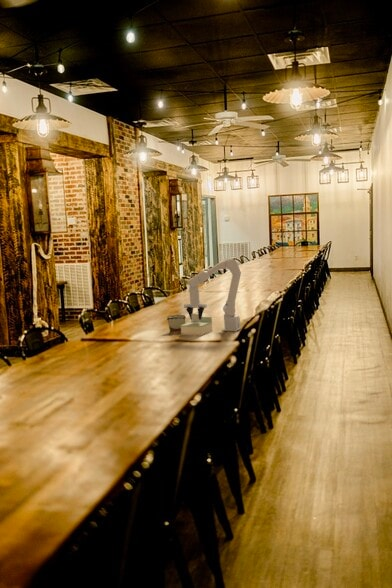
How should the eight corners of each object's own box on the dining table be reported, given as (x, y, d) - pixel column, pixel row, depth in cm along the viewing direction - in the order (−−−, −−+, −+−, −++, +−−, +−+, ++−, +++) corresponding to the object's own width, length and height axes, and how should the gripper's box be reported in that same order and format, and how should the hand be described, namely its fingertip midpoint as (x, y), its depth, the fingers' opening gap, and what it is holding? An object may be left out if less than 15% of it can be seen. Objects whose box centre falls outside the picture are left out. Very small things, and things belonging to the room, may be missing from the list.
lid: (211, 322, 343) (211, 316, 342) (200, 327, 331) (200, 321, 330) (192, 322, 350) (191, 316, 349) (180, 326, 338) (180, 320, 337)
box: (212, 330, 343) (211, 322, 343) (201, 335, 331) (200, 327, 331) (192, 330, 350) (192, 322, 350) (181, 334, 338) (180, 326, 338)
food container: (188, 329, 352) (187, 314, 351) (187, 331, 346) (186, 316, 345) (169, 330, 354) (167, 315, 352) (167, 332, 348) (166, 317, 346)
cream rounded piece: (201, 322, 338) (200, 313, 337) (193, 323, 337) (192, 315, 336) (199, 320, 343) (198, 312, 342) (190, 321, 342) (190, 313, 341)
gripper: (208, 296, 338) (209, 318, 340) (186, 296, 345) (188, 318, 346) (203, 298, 332) (204, 320, 334) (181, 298, 338) (183, 320, 340)
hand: (196, 319), depth 340 cm, fingers closed on cream rounded piece, 5 cm apart
